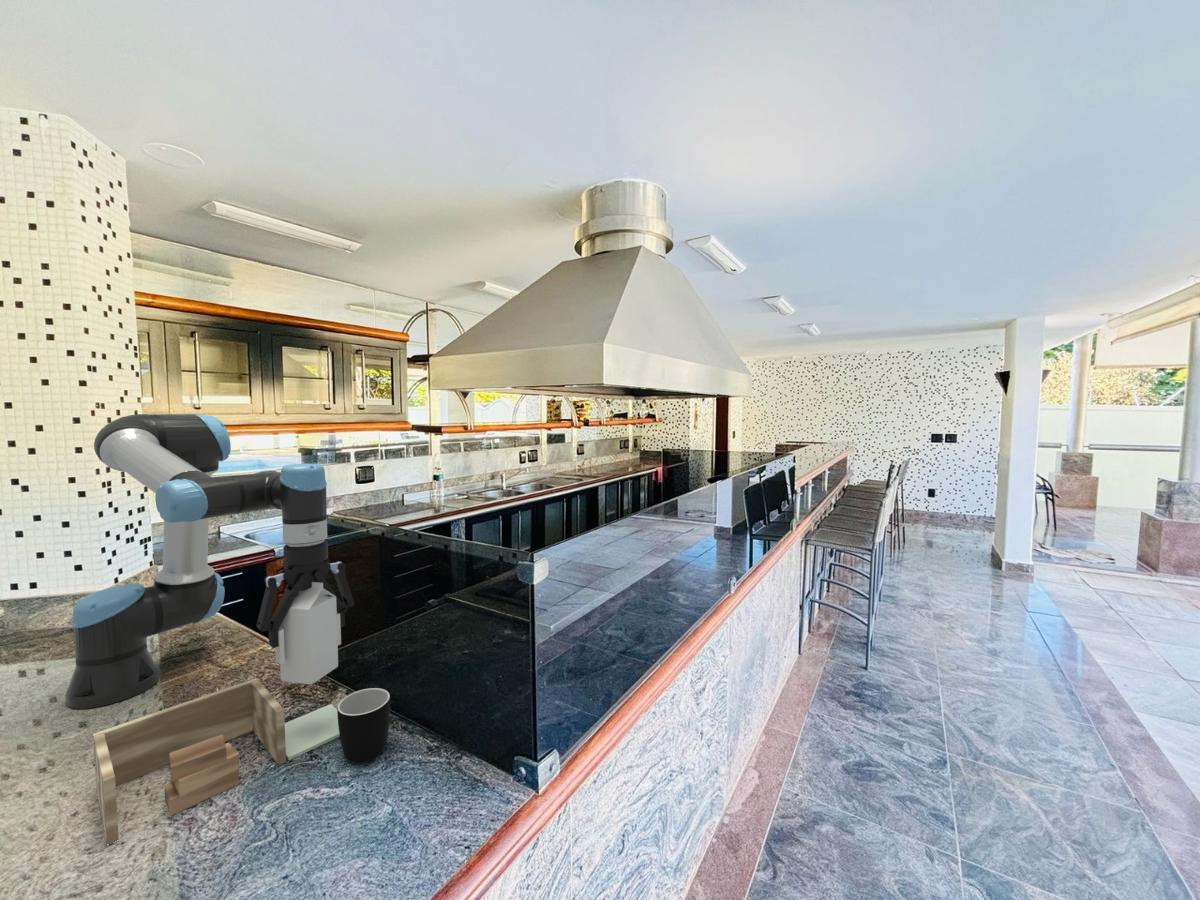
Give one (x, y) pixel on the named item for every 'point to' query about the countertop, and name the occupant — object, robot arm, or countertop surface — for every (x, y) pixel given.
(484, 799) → the countertop surface
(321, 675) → the milk carton
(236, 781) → the offcut stack
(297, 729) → the mat
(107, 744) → the frame
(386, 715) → the mug
